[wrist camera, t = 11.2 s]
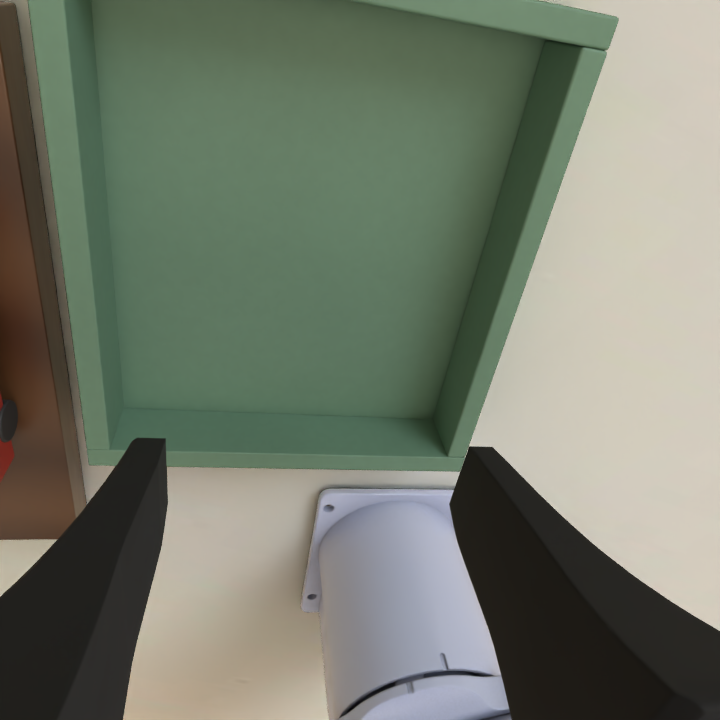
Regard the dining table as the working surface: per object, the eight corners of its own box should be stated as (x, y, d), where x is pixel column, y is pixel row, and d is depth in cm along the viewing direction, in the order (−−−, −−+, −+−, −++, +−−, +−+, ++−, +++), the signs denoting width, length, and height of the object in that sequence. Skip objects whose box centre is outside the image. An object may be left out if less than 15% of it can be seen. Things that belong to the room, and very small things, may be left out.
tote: (442, 428, 26) (460, 472, 24) (106, 417, 23) (88, 465, 21) (572, 13, 17) (621, 17, 15) (53, -95, 14) (12, -110, 12)
